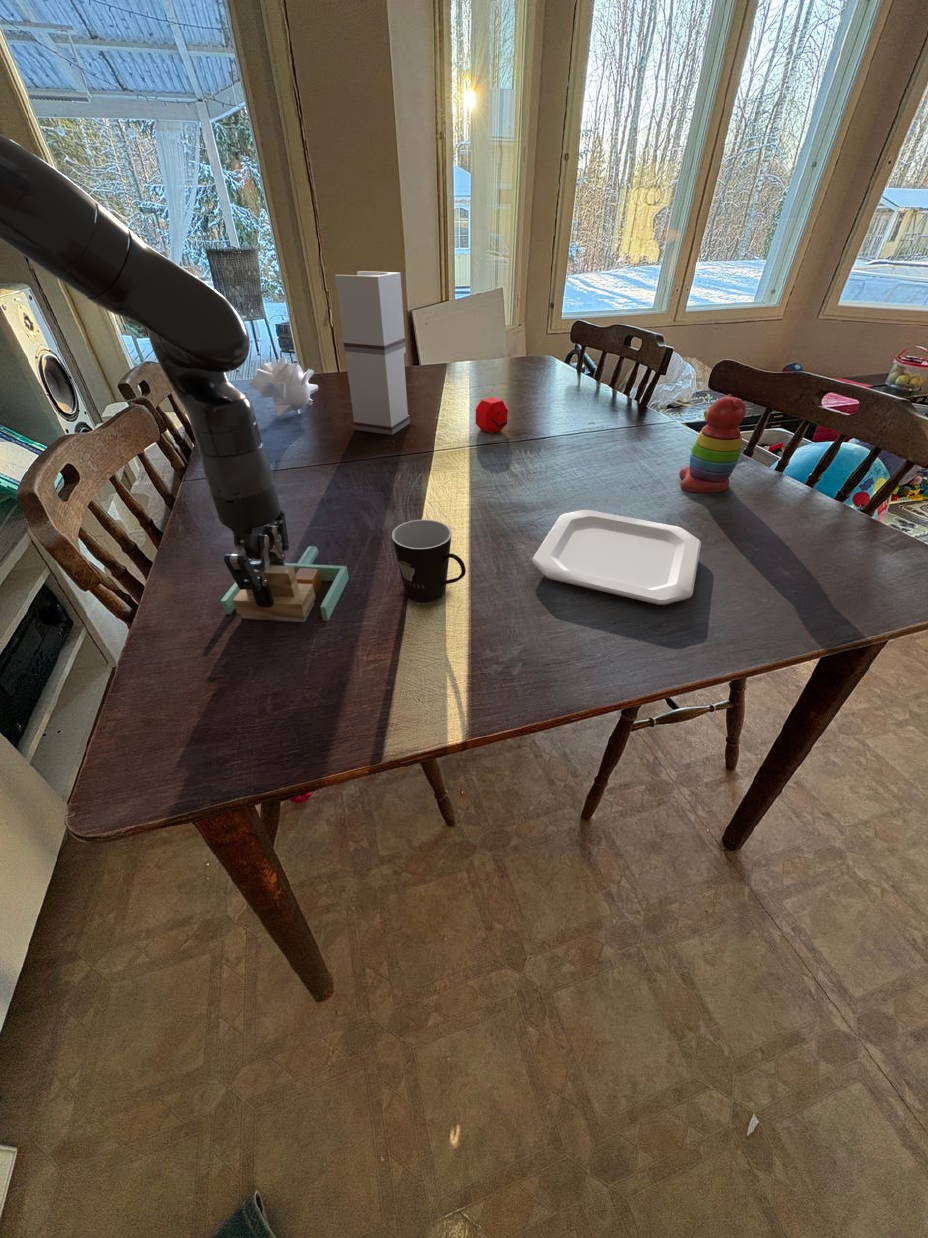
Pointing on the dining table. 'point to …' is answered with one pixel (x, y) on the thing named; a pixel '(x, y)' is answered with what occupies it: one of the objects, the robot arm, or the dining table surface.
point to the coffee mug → (424, 558)
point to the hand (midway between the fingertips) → (273, 593)
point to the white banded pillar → (374, 349)
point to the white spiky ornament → (284, 385)
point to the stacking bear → (715, 448)
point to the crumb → (309, 578)
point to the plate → (621, 556)
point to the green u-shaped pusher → (325, 571)
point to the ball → (491, 415)
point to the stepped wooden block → (278, 597)
